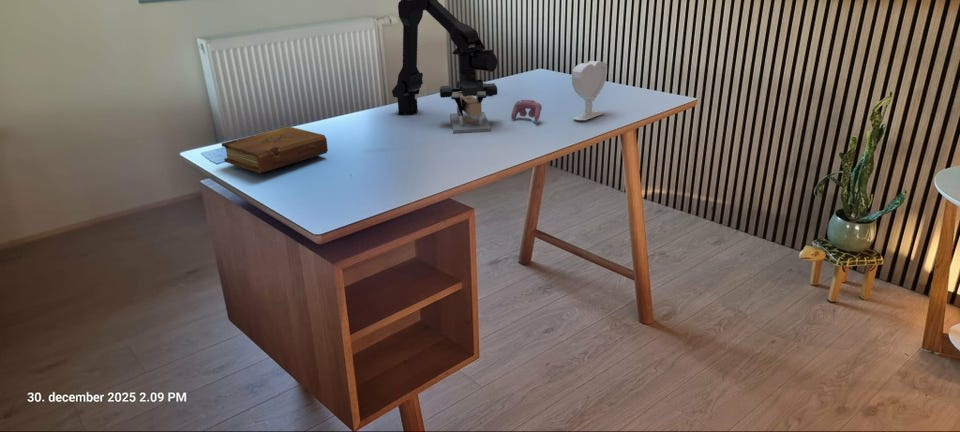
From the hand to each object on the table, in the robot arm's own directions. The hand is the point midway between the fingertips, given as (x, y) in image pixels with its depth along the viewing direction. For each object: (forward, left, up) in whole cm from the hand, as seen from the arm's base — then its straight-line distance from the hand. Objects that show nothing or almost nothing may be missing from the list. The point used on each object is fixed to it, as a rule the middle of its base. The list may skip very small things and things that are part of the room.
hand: (469, 116), depth 224 cm
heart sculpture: (+41, +2, -3) cm, 41 cm away
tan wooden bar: (0, 0, +2) cm, 2 cm away
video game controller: (+19, 0, -3) cm, 19 cm away
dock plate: (0, 0, -3) cm, 3 cm away
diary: (-59, -25, -3) cm, 64 cm away
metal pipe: (+10, +40, -5) cm, 41 cm away
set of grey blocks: (0, 0, -3) cm, 3 cm away
